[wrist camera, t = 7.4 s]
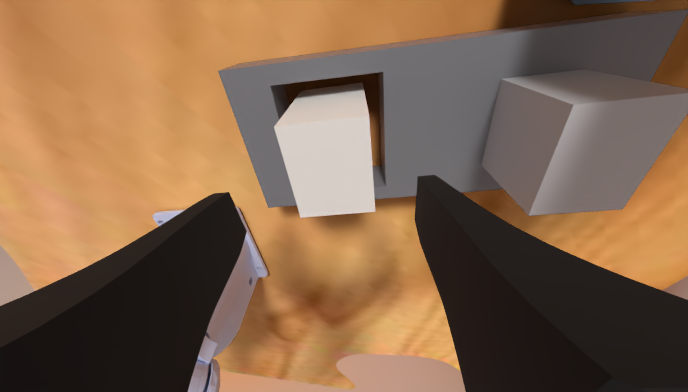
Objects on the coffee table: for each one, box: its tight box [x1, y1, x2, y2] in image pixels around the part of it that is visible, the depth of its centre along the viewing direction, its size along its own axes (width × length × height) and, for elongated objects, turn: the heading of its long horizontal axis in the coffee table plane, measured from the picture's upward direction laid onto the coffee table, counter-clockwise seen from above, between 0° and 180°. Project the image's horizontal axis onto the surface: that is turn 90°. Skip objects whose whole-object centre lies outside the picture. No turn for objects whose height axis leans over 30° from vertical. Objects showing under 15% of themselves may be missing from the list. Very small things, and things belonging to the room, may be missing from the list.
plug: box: [274, 82, 375, 218], centre depth 14 cm, size 5×4×7 cm
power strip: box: [218, 9, 688, 216], centre depth 13 cm, size 9×22×8 cm, turn 97°
